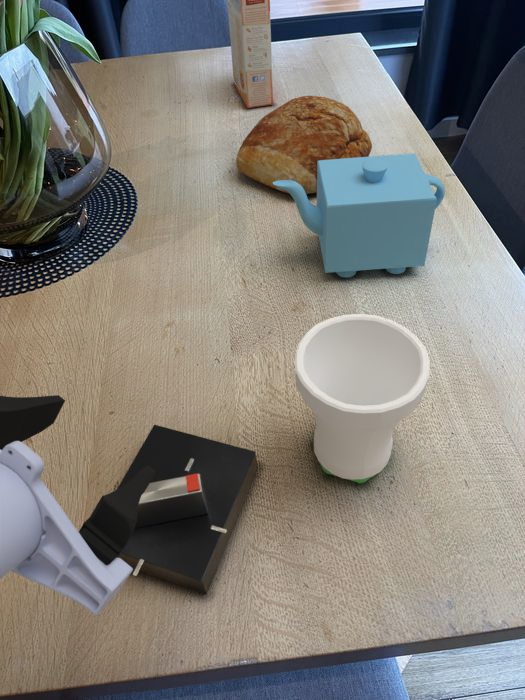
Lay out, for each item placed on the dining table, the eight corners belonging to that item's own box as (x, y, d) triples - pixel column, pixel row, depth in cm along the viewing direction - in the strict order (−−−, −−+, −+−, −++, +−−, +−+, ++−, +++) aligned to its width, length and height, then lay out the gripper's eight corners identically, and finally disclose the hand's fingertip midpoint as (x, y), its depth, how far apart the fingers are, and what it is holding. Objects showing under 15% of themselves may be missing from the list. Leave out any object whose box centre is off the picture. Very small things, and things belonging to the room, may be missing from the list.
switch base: (204, 611, 47) (198, 597, 45) (84, 568, 50) (73, 553, 48) (261, 468, 56) (259, 451, 54) (156, 440, 59) (150, 422, 57)
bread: (374, 161, 96) (380, 102, 89) (318, 211, 87) (319, 150, 79) (277, 134, 105) (275, 79, 98) (216, 177, 96) (209, 120, 88)
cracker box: (275, 105, 114) (270, -13, 99) (246, 110, 114) (237, -9, 98) (259, 80, 124) (253, -32, 109) (233, 84, 123) (223, -28, 108)
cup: (387, 401, 61) (404, 304, 50) (424, 491, 53) (453, 398, 43) (286, 418, 60) (282, 322, 50) (309, 512, 52) (309, 423, 42)
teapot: (423, 226, 82) (439, 136, 72) (443, 274, 75) (463, 181, 65) (274, 237, 83) (270, 149, 73) (278, 286, 75) (274, 195, 65)
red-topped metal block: (123, 530, 49) (111, 507, 46) (123, 512, 50) (111, 488, 47) (208, 513, 50) (201, 489, 46) (206, 495, 51) (199, 471, 48)
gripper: (82, 612, 22) (217, 467, 34) (-181, 390, 23) (39, 331, 36) (17, 714, 24) (165, 544, 37) (-216, 506, 26) (1, 412, 39)
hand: (100, 443), depth 36 cm, fingers open, 7 cm apart
